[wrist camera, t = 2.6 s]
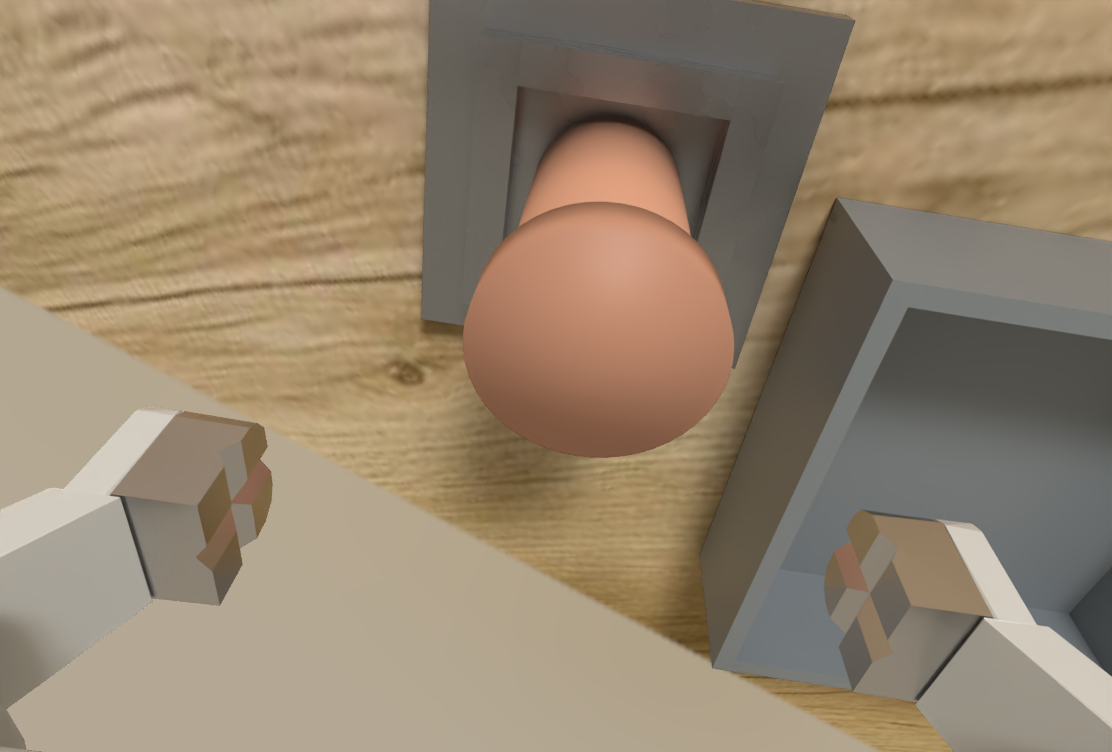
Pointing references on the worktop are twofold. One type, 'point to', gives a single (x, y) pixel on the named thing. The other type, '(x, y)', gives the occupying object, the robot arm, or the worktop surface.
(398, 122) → the worktop surface
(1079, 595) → the slate tray
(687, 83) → the socket plate
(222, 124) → the worktop surface
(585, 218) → the butternut squash
